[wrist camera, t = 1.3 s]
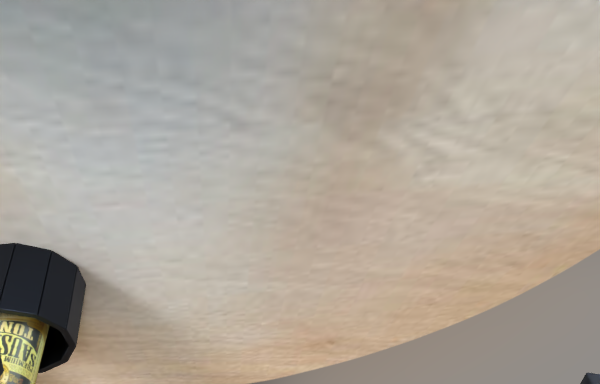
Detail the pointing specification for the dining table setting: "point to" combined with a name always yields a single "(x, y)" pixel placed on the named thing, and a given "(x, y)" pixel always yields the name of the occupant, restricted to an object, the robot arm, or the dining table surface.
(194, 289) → the dining table surface
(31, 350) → the sauce bottle
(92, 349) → the dining table surface
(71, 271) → the cup
